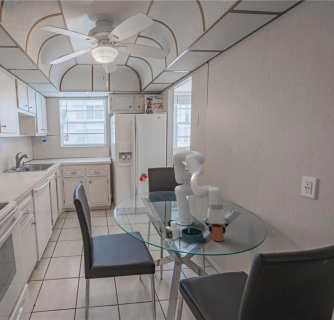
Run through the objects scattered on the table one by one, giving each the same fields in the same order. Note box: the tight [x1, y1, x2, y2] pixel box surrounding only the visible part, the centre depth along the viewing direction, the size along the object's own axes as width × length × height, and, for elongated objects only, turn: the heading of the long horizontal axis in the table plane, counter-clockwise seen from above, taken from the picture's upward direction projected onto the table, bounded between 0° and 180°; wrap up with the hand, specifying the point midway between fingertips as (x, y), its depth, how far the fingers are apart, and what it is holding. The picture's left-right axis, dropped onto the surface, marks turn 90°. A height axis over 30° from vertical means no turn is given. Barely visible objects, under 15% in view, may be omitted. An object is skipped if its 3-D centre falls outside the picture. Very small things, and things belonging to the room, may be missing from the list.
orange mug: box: [210, 224, 225, 242], centre depth 142 cm, size 11×7×9 cm
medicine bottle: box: [165, 219, 181, 241], centre depth 151 cm, size 7×7×12 cm
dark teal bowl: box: [180, 227, 205, 244], centre depth 145 cm, size 14×14×6 cm
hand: (217, 232), depth 140 cm, fingers closed on orange mug, 7 cm apart
